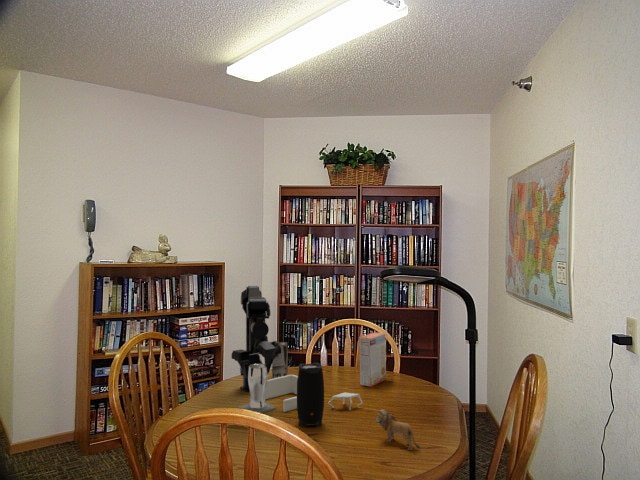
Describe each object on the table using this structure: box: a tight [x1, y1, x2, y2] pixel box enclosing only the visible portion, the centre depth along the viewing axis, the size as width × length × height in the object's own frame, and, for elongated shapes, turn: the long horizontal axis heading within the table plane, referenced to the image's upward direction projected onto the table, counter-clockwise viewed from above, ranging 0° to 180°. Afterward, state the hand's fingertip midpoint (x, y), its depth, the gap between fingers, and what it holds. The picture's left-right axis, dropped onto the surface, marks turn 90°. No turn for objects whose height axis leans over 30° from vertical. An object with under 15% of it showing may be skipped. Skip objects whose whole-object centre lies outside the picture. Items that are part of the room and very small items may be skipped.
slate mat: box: [237, 403, 277, 414], centre depth 174 cm, size 10×10×1 cm
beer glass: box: [248, 363, 268, 410], centre depth 174 cm, size 7×7×15 cm
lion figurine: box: [375, 409, 421, 451], centre depth 144 cm, size 15×5×9 cm, turn 52°
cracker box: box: [358, 331, 387, 388], centre depth 208 cm, size 14×6×21 cm, turn 144°
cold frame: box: [265, 373, 298, 413], centre depth 182 cm, size 17×17×7 cm
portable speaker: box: [296, 362, 325, 428], centre depth 160 cm, size 9×9×20 cm
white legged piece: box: [327, 392, 363, 411], centre depth 175 cm, size 12×8×5 cm
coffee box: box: [271, 341, 289, 379], centre depth 211 cm, size 9×6×16 cm
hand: (257, 375), depth 174 cm, fingers open, 9 cm apart
